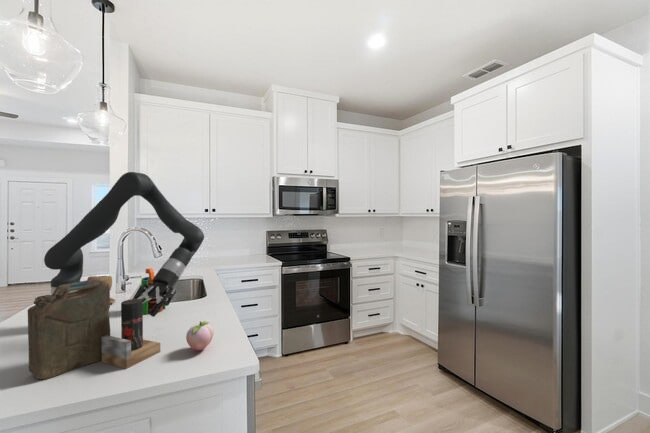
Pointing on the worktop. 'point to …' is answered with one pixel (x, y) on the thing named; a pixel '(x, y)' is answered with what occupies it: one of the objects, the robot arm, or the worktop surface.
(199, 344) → the decorative fruit
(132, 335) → the deodorant
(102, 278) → the stone cup
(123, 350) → the step
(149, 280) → the motor
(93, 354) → the canister
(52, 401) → the worktop surface
